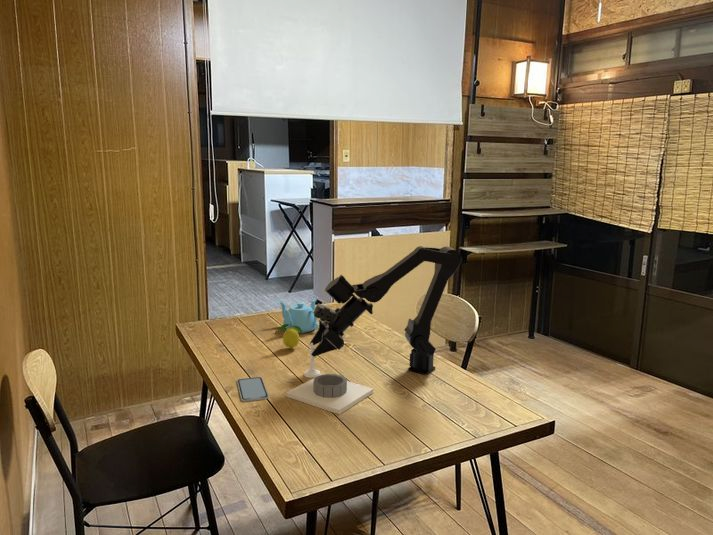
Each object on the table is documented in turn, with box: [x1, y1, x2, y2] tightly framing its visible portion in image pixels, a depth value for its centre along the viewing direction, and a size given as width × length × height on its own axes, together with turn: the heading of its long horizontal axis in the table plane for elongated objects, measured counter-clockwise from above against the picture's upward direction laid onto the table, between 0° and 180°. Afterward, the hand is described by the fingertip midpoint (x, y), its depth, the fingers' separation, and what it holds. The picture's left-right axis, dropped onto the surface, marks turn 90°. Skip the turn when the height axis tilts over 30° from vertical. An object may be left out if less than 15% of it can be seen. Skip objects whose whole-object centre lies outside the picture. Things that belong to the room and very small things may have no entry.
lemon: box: [278, 323, 303, 350], centre depth 181 cm, size 7×6×10 cm
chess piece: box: [303, 343, 321, 379], centre depth 160 cm, size 5×5×10 cm
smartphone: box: [236, 376, 270, 403], centre depth 150 cm, size 7×1×15 cm
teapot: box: [278, 298, 319, 334], centre depth 203 cm, size 15×15×10 cm
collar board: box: [285, 373, 374, 415], centre depth 147 cm, size 18×16×4 cm
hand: (311, 350), depth 159 cm, fingers open, 9 cm apart
